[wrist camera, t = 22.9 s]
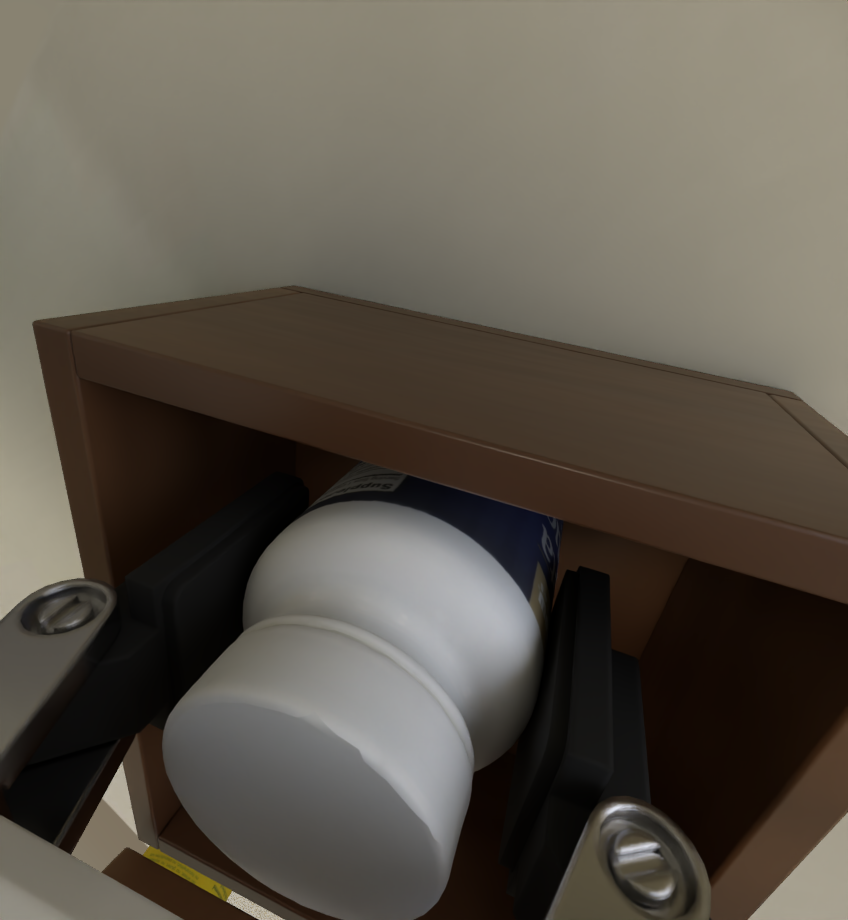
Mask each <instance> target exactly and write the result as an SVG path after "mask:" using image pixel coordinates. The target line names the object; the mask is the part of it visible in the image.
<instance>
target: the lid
mask: <svg viewBox="0 0 848 920" xmlns="http://www.w3.org/2000/svg"><path fill="white" fill-rule="evenodd" d="M102 873H103V874H105V875H107V876H109V877H110V878H112V879H114V880H116V881H117V882H119V883H121V884H123V885H124V886H126V887H128V888H130V889H131V890H133V891H135V892H137V893H138V894H140V895H142V896H144V897H145V898H147V899H149V900H151V901H152V902H154V903H156V904H157V905H159V906H161V907H163V908H164V909H166V910H168V911H170V912H171V913H173V914H175V915H177V916H178V917H180V918H182V919H184V920H258V919H256V918H254V917H253V916H251V915H249V914H247V913H245V912H244V911H242V910H240V909H238V908H236V907H235V906H233V905H231V904H229V903H227V902H226V901H224V900H222V899H220V898H218V897H217V896H215V895H213V894H211V893H209V892H208V891H206V890H204V889H202V888H200V887H199V886H197V885H195V884H193V883H191V882H190V881H188V880H186V879H184V878H182V877H181V876H179V875H177V874H175V873H173V872H172V871H170V870H168V869H166V868H164V867H163V866H161V865H159V864H157V863H155V862H154V861H152V860H150V859H148V858H146V857H145V856H143V855H141V854H139V853H137V852H136V851H134V850H132V849H130V848H128V847H126V848H125V849H124V850H123V851H122V852H121V853H120V854H119V855H118V856H117V857H116V858H115V859H114V860H113V861H112V862H111V863H110V864H109V865H108V866H107V867H106V868H105V869H104V870H103V871H102Z"/></svg>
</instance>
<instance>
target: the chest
mask: <svg viewBox="0 0 848 920" xmlns="http://www.w3.org/2000/svg"><path fill="white" fill-rule="evenodd" d="M32 325H33V330H34V335H35V339H36V344H37V349H38V354H39V359H40V364H41V369H42V373H43V378H44V383H45V388H46V393H47V398H48V402H49V407H50V412H51V417H52V422H53V427H54V432H55V436H56V441H57V446H58V451H59V456H60V461H61V466H62V470H63V475H64V480H65V485H66V490H67V495H68V499H69V504H70V509H71V514H72V519H73V524H74V529H75V533H76V538H77V543H78V548H79V553H80V558H81V563H82V567H83V572H84V577H85V578H92V579H97V580H101V581H105V582H106V583H108V584H109V585H111V586H113V588H114V589H115V588H116V587H117V586H119V585H120V584H122V583H123V582H125V576H126V575H128V574H129V573H131V572H132V571H133V570H135V569H136V568H138V567H139V566H141V565H142V564H143V563H145V562H146V561H148V560H149V559H151V558H152V557H154V556H155V555H156V554H158V553H159V552H161V551H162V550H164V549H165V548H166V547H168V546H169V545H171V544H172V543H174V542H175V541H176V540H178V539H179V538H181V537H182V536H184V535H185V534H186V533H188V532H189V531H191V530H192V529H194V528H195V527H196V526H198V525H199V524H201V523H202V522H204V521H205V520H206V519H208V518H209V517H211V516H212V515H214V514H215V513H216V512H218V511H219V510H221V509H222V508H224V507H225V506H226V505H228V504H229V503H231V502H232V501H234V500H235V499H236V498H238V497H239V496H241V495H242V494H244V493H245V492H246V491H248V490H249V489H251V488H252V487H254V486H255V485H257V484H258V483H259V482H261V481H262V480H264V479H265V478H267V477H268V476H269V475H271V474H272V473H274V472H276V471H278V472H282V473H286V474H289V475H292V476H295V477H298V478H301V479H302V480H303V483H304V486H305V487H307V488H308V489H309V507H310V506H311V505H312V504H313V503H314V502H315V501H316V500H318V499H319V498H320V497H321V496H322V495H323V494H324V493H326V492H327V491H328V490H329V489H330V488H331V487H332V486H333V485H335V484H336V483H337V482H338V481H339V480H340V479H341V478H342V477H344V476H345V475H346V474H347V473H348V472H349V471H350V470H351V469H352V468H354V467H355V466H356V465H357V464H358V463H359V462H360V461H363V462H366V463H370V464H373V465H377V466H380V467H383V468H387V469H390V470H394V471H397V472H400V473H404V474H407V475H410V476H414V477H417V478H421V479H424V480H427V481H431V482H434V483H438V484H441V485H444V486H448V487H451V488H454V489H458V490H461V491H465V492H468V493H471V494H475V495H478V496H482V497H485V498H488V499H492V500H495V501H499V502H502V503H505V504H509V505H512V506H515V507H519V508H522V509H526V510H529V511H532V512H536V513H539V514H543V515H546V516H549V517H553V518H556V519H559V520H563V521H564V523H563V530H562V538H561V545H560V553H559V564H558V570H557V580H556V584H555V593H554V598H553V605H552V609H553V606H554V603H555V600H556V597H557V595H558V592H559V589H560V586H561V583H562V580H563V577H564V575H565V572H566V570H567V569H568V570H571V571H575V572H577V569H578V568H579V566H584V567H587V568H590V569H593V570H596V571H600V572H603V573H606V574H609V575H610V608H611V649H613V650H616V651H619V652H622V653H625V654H628V655H630V656H633V657H636V658H637V660H638V663H639V668H640V679H641V691H642V703H643V715H644V726H645V738H646V750H647V762H648V773H649V785H650V797H651V805H653V806H654V807H656V808H658V809H660V810H661V811H663V812H664V813H665V814H666V815H667V816H668V817H669V818H671V819H672V820H673V821H674V822H675V823H676V824H678V825H679V827H680V828H681V829H682V830H683V832H684V833H685V834H686V835H687V837H688V838H689V839H690V840H691V842H692V843H693V844H694V846H695V848H696V850H697V852H698V854H699V856H700V858H701V859H702V861H703V863H704V865H705V869H706V872H707V876H708V879H709V882H710V886H711V911H710V918H711V919H712V920H748V918H749V917H750V916H751V915H752V914H753V913H754V912H755V911H756V910H757V909H758V908H759V907H760V906H761V905H762V903H763V902H764V901H765V900H766V899H767V898H768V897H769V896H770V895H771V894H772V893H773V892H774V891H775V890H776V888H777V887H778V886H779V885H780V884H781V883H782V882H783V881H784V880H785V879H786V878H787V877H788V876H789V875H790V874H791V872H792V871H793V870H794V869H795V868H796V867H797V866H798V865H799V864H800V863H801V862H802V861H803V860H804V859H805V857H806V856H807V855H808V854H809V853H810V852H811V851H812V850H813V849H814V848H815V847H816V846H817V845H818V844H819V842H820V841H821V840H822V839H823V838H824V837H825V836H826V835H827V834H828V833H829V832H830V831H831V830H832V829H833V827H834V826H835V825H836V824H837V823H838V822H839V821H840V820H841V819H842V818H843V817H844V816H845V815H846V814H847V812H848V436H847V435H845V434H844V433H843V432H842V431H840V430H839V429H838V428H837V427H835V426H834V425H833V424H832V423H830V422H829V421H828V420H826V419H825V418H824V417H823V416H821V415H820V414H819V413H818V412H816V411H815V410H814V409H813V408H811V407H810V406H809V405H808V404H806V403H805V402H803V400H802V399H800V398H799V397H798V396H796V395H795V394H794V393H792V392H789V391H785V390H780V389H775V388H771V387H766V386H761V385H757V384H752V383H747V382H743V381H738V380H733V379H729V378H724V377H719V376H715V375H710V374H705V373H701V372H696V371H691V370H687V369H682V368H677V367H673V366H668V365H663V364H658V363H654V362H649V361H644V360H640V359H635V358H630V357H626V356H621V355H616V354H612V353H607V352H602V351H598V350H593V349H588V348H584V347H579V346H574V345H570V344H565V343H560V342H556V341H551V340H546V339H542V338H537V337H532V336H528V335H523V334H518V333H514V332H509V331H504V330H500V329H495V328H490V327H486V326H481V325H476V324H471V323H467V322H462V321H457V320H453V319H448V318H443V317H439V316H434V315H429V314H425V313H420V312H415V311H411V310H406V309H401V308H397V307H392V306H387V305H383V304H378V303H373V302H369V301H364V300H359V299H355V298H350V297H345V296H341V295H336V294H331V293H327V292H322V291H317V290H313V289H308V288H303V287H299V286H287V287H280V288H271V289H264V290H256V291H249V292H242V293H234V294H227V295H220V296H212V297H205V298H197V299H190V300H183V301H175V302H168V303H160V304H153V305H146V306H138V307H131V308H124V309H116V310H109V311H101V312H94V313H87V314H79V315H72V316H64V317H57V318H50V319H42V320H36V321H34V322H33V324H32ZM551 612H552V611H551ZM162 739H163V730H161V729H159V728H157V727H155V726H153V725H151V724H148V725H147V726H146V727H145V728H144V729H143V730H142V731H141V732H140V733H137V734H136V736H135V739H134V741H133V742H132V744H131V746H130V748H129V750H128V752H127V753H126V755H125V757H124V759H123V766H124V771H125V776H126V781H127V786H128V790H129V795H130V800H131V805H132V810H133V815H134V820H135V824H136V829H137V834H138V838H139V840H141V841H143V842H144V843H146V844H148V845H150V846H152V847H153V848H155V849H158V850H159V849H160V851H161V852H163V853H164V854H166V855H168V856H170V857H172V858H174V859H175V860H177V861H179V862H181V863H183V864H185V865H186V866H188V867H190V868H192V869H194V870H196V871H197V872H199V873H201V874H203V875H205V876H206V877H208V878H210V879H212V880H214V881H216V882H217V883H219V884H221V885H223V886H225V887H227V888H228V889H230V890H232V891H234V892H236V893H237V894H239V895H241V896H243V897H245V898H247V899H248V900H250V901H252V902H254V903H256V904H258V905H259V906H261V907H263V908H265V909H267V910H269V911H270V912H272V913H274V914H276V915H278V916H279V917H281V918H283V919H285V920H342V919H339V918H336V917H332V916H329V915H326V914H323V913H321V912H318V911H315V910H313V909H310V908H307V907H305V906H302V905H300V904H298V903H297V902H295V901H293V900H291V899H289V898H287V897H285V896H283V895H281V894H279V893H277V892H276V891H274V890H272V889H271V888H269V887H267V886H266V885H264V884H263V883H261V882H260V881H258V880H257V879H255V878H254V877H253V876H251V875H250V874H248V873H247V872H246V871H245V870H243V869H242V868H241V867H240V866H238V865H237V864H236V863H234V862H233V861H232V860H231V859H230V858H228V857H227V856H226V855H225V854H224V853H223V852H222V851H221V850H220V849H219V848H218V847H217V846H216V845H215V844H214V843H213V842H212V841H211V840H210V839H209V838H208V837H207V836H206V835H205V834H204V833H203V832H202V831H201V830H200V828H199V827H198V826H197V825H196V824H195V822H194V821H193V820H192V818H191V817H190V815H189V814H188V813H187V811H186V810H185V808H184V807H183V805H182V803H181V802H180V800H179V798H178V796H177V795H176V793H175V791H174V789H173V787H172V785H171V782H170V780H169V778H168V776H167V774H166V770H165V765H164V761H163V752H162ZM518 740H519V738H518V739H517V740H516V742H515V743H514V744H513V746H512V747H511V748H510V749H509V750H507V751H506V752H505V753H504V754H503V755H502V756H501V757H499V758H498V759H496V760H495V761H494V762H492V763H491V764H489V765H487V766H485V767H484V768H482V769H480V770H478V771H475V772H474V775H473V780H472V792H471V797H470V803H469V807H468V810H467V813H466V816H465V819H464V823H463V826H462V829H461V833H460V837H459V841H458V844H457V848H456V852H455V856H454V860H453V864H452V868H451V872H450V877H449V880H448V882H447V885H446V888H445V890H444V892H443V893H442V895H441V897H440V899H439V901H438V902H437V903H436V904H435V905H434V906H433V907H432V908H431V909H430V910H429V911H428V912H427V913H425V914H424V915H422V916H420V917H418V918H416V919H414V920H516V919H515V917H514V914H513V904H514V897H512V896H510V895H508V894H506V889H507V883H508V876H509V869H508V868H506V867H504V866H502V865H500V864H498V858H499V851H500V845H501V839H502V833H503V827H504V821H505V816H506V810H507V804H508V798H509V792H510V786H511V780H512V775H513V769H514V763H515V757H516V751H517V745H518Z"/></svg>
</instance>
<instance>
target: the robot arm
mask: <svg viewBox="0 0 848 920" xmlns="http://www.w3.org/2000/svg"><path fill="white" fill-rule="evenodd" d="M308 508H309V489H308V488H307V487H305V486H304V483H303V480H302V479H301V478H298V477H295V476H292V475H289V474H286V473H282V472H278V471H276V472H274V473H272V474H271V475H269V476H268V477H267V478H265V479H264V480H262V481H261V482H259V483H258V484H257V485H255V486H254V487H252V488H251V489H249V490H248V491H246V492H245V493H244V494H242V495H241V496H239V497H238V498H236V499H235V500H234V501H232V502H231V503H229V504H228V505H226V506H225V507H224V508H222V509H221V510H219V511H218V512H216V513H215V514H214V515H212V516H211V517H209V518H208V519H206V520H205V521H204V522H202V523H201V524H199V525H198V526H196V527H195V528H194V529H192V530H191V531H189V532H188V533H186V534H185V535H184V536H182V537H181V538H179V539H178V540H176V541H175V542H174V543H172V544H171V545H169V546H168V547H166V548H165V549H164V550H162V551H161V552H159V553H158V554H156V555H155V556H154V557H152V558H151V559H149V560H148V561H146V562H145V563H143V564H142V565H141V566H139V567H138V568H136V569H135V570H133V571H132V572H131V573H129V574H128V575H126V576H125V582H123V583H122V584H120V585H119V586H117V587H116V588H115V589H114V588H113V586H111V585H109V584H108V583H106V582H105V581H101V580H97V579H92V578H77V579H71V580H65V581H60V582H57V583H54V584H51V585H48V586H45V587H43V588H41V589H39V590H37V591H36V592H34V593H32V594H30V595H29V596H27V597H26V598H25V599H24V600H22V601H21V602H20V603H18V604H17V605H16V606H15V607H14V608H13V609H12V610H11V611H10V612H9V613H8V614H7V615H6V616H5V617H4V618H3V619H2V620H1V621H0V920H184V919H182V918H180V917H178V916H177V915H175V914H173V913H171V912H170V911H168V910H166V909H164V908H163V907H161V906H159V905H157V904H156V903H154V902H152V901H151V900H149V899H147V898H145V897H144V896H142V895H140V894H138V893H137V892H135V891H133V890H131V889H130V888H128V887H126V886H124V885H123V884H121V883H119V882H117V881H116V880H114V879H112V878H110V877H109V876H107V875H105V874H103V873H102V872H100V871H98V870H96V869H95V868H93V867H91V866H89V865H87V864H86V863H84V862H82V861H81V860H79V859H77V858H75V857H74V856H72V855H71V854H72V852H73V850H74V848H75V846H76V844H77V842H78V841H79V839H80V837H81V835H82V834H83V832H84V830H85V828H86V826H87V824H88V823H89V821H90V819H91V817H92V815H93V813H94V812H95V810H96V808H97V806H98V804H99V803H100V801H101V799H102V797H103V795H104V794H105V792H106V790H107V788H108V786H109V784H110V783H111V781H112V779H113V777H114V775H115V773H116V772H117V770H118V768H119V766H120V764H121V763H122V761H123V759H124V757H125V755H126V753H127V752H128V750H129V748H130V746H131V744H132V742H133V741H134V739H135V736H136V734H137V733H140V732H141V731H142V730H143V729H144V728H145V727H146V726H147V725H148V724H151V725H153V726H155V727H157V728H159V729H161V730H163V731H164V728H165V725H166V721H167V719H168V716H169V715H170V713H171V712H172V710H173V709H174V707H175V706H176V705H177V703H178V702H179V701H180V700H181V698H182V697H183V696H184V695H185V694H186V693H187V692H188V691H189V689H190V688H191V687H192V686H193V685H194V684H195V683H196V682H197V681H198V680H199V679H200V678H201V676H202V675H203V674H204V673H205V672H206V671H207V670H208V668H209V667H210V666H211V665H212V664H213V663H214V662H215V661H216V660H217V659H218V658H219V657H220V656H221V655H222V653H223V652H224V651H225V650H226V649H227V648H228V647H229V646H230V645H231V644H233V643H234V642H235V641H236V640H237V638H238V637H239V636H240V635H241V634H242V633H243V632H244V630H243V621H242V619H243V601H244V596H245V591H246V587H247V583H248V580H249V577H250V575H251V572H252V570H253V568H254V566H255V565H256V563H257V561H258V559H259V558H260V556H261V555H262V554H263V552H264V551H265V549H266V548H267V547H268V546H269V545H270V544H271V543H272V542H273V540H274V539H275V538H276V537H277V536H278V535H279V534H280V533H281V532H282V531H283V530H284V529H285V528H286V527H288V526H289V525H290V524H291V523H292V522H293V521H294V520H295V519H296V518H297V517H298V516H299V515H301V514H302V513H303V512H304V511H305V510H306V509H308ZM498 864H500V865H502V866H504V867H506V868H508V869H509V876H508V883H507V889H506V894H508V895H510V896H512V897H514V904H513V914H514V917H515V919H516V920H712V919H711V918H710V911H711V886H710V882H709V879H708V876H707V872H706V869H705V865H704V863H703V861H702V859H701V858H700V856H699V854H698V852H697V850H696V848H695V846H694V844H693V843H692V842H691V840H690V839H689V838H688V837H687V835H686V834H685V833H684V832H683V830H682V829H681V828H680V827H679V825H678V824H676V823H675V822H674V821H673V820H672V819H671V818H669V817H668V816H667V815H666V814H665V813H664V812H663V811H661V810H660V809H658V808H656V807H654V806H653V805H651V797H650V785H649V773H648V762H647V750H646V738H645V726H644V715H643V703H642V691H641V679H640V668H639V663H638V660H637V658H636V657H633V656H630V655H628V654H625V653H622V652H619V651H616V650H613V649H611V608H610V575H609V574H606V573H603V572H600V571H596V570H593V569H590V568H587V567H584V566H579V568H578V569H577V572H575V571H571V570H568V569H567V570H566V572H565V575H564V577H563V580H562V583H561V586H560V589H559V592H558V595H557V597H556V600H555V603H554V606H553V609H552V612H551V618H550V625H549V633H548V642H547V648H546V655H545V663H544V669H543V674H542V679H541V684H540V689H539V694H538V698H537V702H536V705H535V707H534V710H533V713H532V716H531V718H530V720H529V722H528V724H527V726H526V728H525V729H524V731H523V732H522V734H521V735H520V737H519V740H518V745H517V751H516V757H515V763H514V769H513V775H512V780H511V786H510V792H509V798H508V804H507V810H506V816H505V821H504V827H503V833H502V839H501V845H500V851H499V858H498Z"/></svg>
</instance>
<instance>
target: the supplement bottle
mask: <svg viewBox="0 0 848 920" xmlns="http://www.w3.org/2000/svg"><path fill="white" fill-rule="evenodd" d="M143 856H145V857H146V858H148V859H150V860H152V861H154V862H155V863H157V864H159V865H161V866H163V867H164V868H166V869H168V870H170V871H172V872H173V873H175V874H177V875H179V876H181V877H182V878H184V879H186V880H188V881H190V882H191V883H193V884H195V885H197V886H199V887H200V888H202V889H204V890H206V891H208V892H209V893H211V894H213V895H215V896H217V897H218V898H220V899H222V900H224V901H227V899H228V897H229V895H230V894H231V892H232V890H230V889H228V888H227V887H225V886H223V885H221V884H219V883H217V882H216V881H214V880H212V879H210V878H208V877H206V876H205V875H203V874H201V873H199V872H197V871H196V870H194V869H192V868H190V867H188V866H186V865H185V864H183V863H181V862H179V861H177V860H175V859H174V858H172V857H170V856H168V855H166V854H164V853H163V852H161V851H160V849H159V850H158V849H155V848H153V847H152V846H149V847H148V849H147V850H146V852H145V853H144V854H143Z"/></svg>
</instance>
